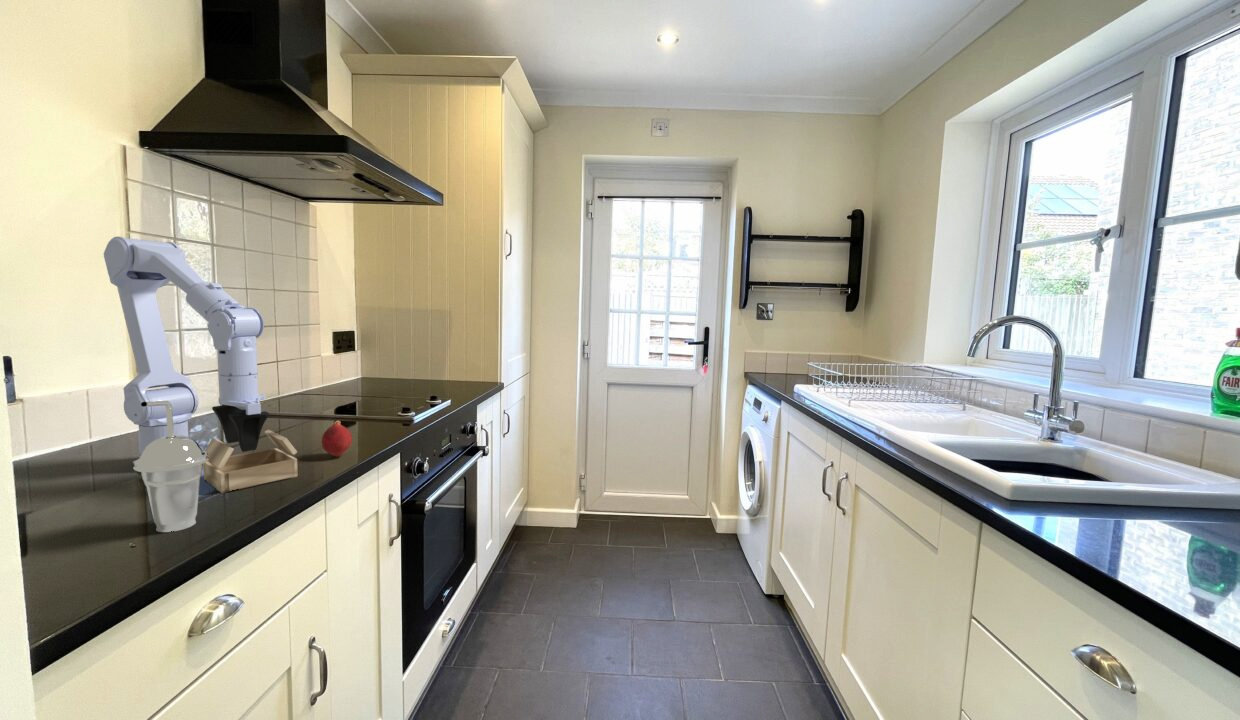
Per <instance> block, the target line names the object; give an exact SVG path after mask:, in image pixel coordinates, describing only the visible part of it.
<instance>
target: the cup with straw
mask: <svg viewBox="0 0 1240 720" xmlns="http://www.w3.org/2000/svg"><path fill="white" fill-rule="evenodd" d="M163 405H165V407H166V419H167V435H168V436H164V437H161V438H159V439H156V440H154V441H153V442H151V443H150V444H149V445H148V446H147V447H146V448H145V449H144V451H143V453H142V455H141V457H140V458H138V459H136V460H134V461H135V462H134V464H133V467H132V468H133V470H134V471H135V472H139V473H140V475H141V479H142V481H143V483H144V484H143V485H144V486H145V487H146V491H147V494H148V501H149V504H150V509H151V513H152V517H153V522H154V524H155V526H156V528H155V531H156V532H158V533H172V532H173V531H174V532H178V531H182V530H185V529H188V528H191V527H192V526H194V525H196V523H197V521H196V517H197V515H198V504H199V494H200V483H201V481H200V480H201V477H202V472H204V471H203V463H205V462H207V461H208V460H209V456H208V453H207V452H206V451H205V450H203V449H202V447H201V446H200V444H199V443H198V442H197V441H196V440H195V439H193V438H192V437H187V436H182V435H174V431H173V414H172V405H171V403H170V402H169V401H146V402H142V403H141V406H143V407H147V406H163ZM171 531H172V532H171Z"/></svg>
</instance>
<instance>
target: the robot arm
mask: <svg viewBox="0 0 1240 720" xmlns="http://www.w3.org/2000/svg"><path fill="white" fill-rule="evenodd" d="M103 258H104V263H105V267H106V270H107V274H108V276H109V277H108V278H109V281H110V284H112V285H114V286H116V287H117V293H118V295H119V299H120V304H121V308H122V313H123V316H124V320H125V324H126V329H127V333H128V336H129V341H130V345H131V348H132V354H133V357H134V361H135V365H136V370H137V373H138V374H137V376H135V377H133V379H132V380H130V381H129V382H128V383H127V384H126V385H125V386H124V387H123V388H122V389H123V394H124V395H123V397H124V398H123V399H124V401H123V410H124V411H123V412H124V414H125V415H126V418H127V419H128V420H129V421H131V422H132V423H133V424H134V425H138V431H137V440H138V441H137V443H138V453H139V454H138V455H139V458H138V459H140V457H141V455H142V453H143V451H144V449H145V448H146V447H147V446H148V445H149V444H150V443H151V442H153V441H154V440H156V439H159V438H161V437H164V436H168V435H167V419H166V407H165V405H163V406H147V407H143V406H141V403H142V402H146V401H169V402H170V403H171V405H172V414H173V431H174V435H182V436H187V437H189V422H188V420H191V419H192V416H193V415H194V414H195V412H197V410H198V407H199V396H198V393H197V392H196V390H195V389H194V387H193V386H192V384H191V379H190V377H188V376H187V375H184V374H182V373H180V372H178V371H176V370H175V368H174V366H173V361H172V357H171V353H170V349H169V348H170V347H169V344H168V340H167V336H166V331H165V327H164V324H163V319H162V316H161V311H160V308H159V304H158V303H159V302H158V299H157V295H156V293H157V291H158V290H159V289H160V288H163V287H165V286H167V285H168V284H169V283H170V282H171V283H172V284H173V285H175V286H176V287H177V288H178V289H180V290H181V291H182V292H184V293H185V294H186V295H185V301H186V303H187V304H188V305H189V306H190V307H191V308H192V309H193V310H194V311H196V313H197V314H199V316H201V317H202V319H204V320H205V321H206V322H207V324H206V325H207V326H206V327H207V330H208V332H209V335H210V336H211V339H212V343H213V347H214V349H215V350H216V351H217V366H218V367H217V368H218V370H217V371H218V387H219V389H218V391H219V392H218V393H219V397H218V404H219V405H217V406H212V407H211V409H212V411H213V412H214V414H215V415H216V417H217V418H218V420H219V423H220V425H221V428H222V430H223V434H224V438H225V440H226V442H227V444H233V443H238V445H239V448H240V450H241V452H243V453H244V452H245V453H247V452H252V451H257V447H258V444H259V440H260V435H261V432H262V429H263V426H264V424H265V423H266V420H267V419H268V418H269V416H270V415H269V412H268V411H266V410H265V411H262V408H261V406H262V405H261V402H260V401H263V400H267V395H265V394H259V380H258V379H259V377H258V346H257V338H259V337H261V336H262V334H263V332H264V330H265V329H264V328H265V321H264V318H263V316H262V314H261V313H260V312H259V311H258V309H257V308H255V307H249V306H248V307H246V306H245V305H241V304H240V303H239V302H238V301H237V300H236V299H234V298H233V297H232V296H231V295H230V294H229V293H227V292H226V291H225V290H224V289H223V286H222V285H221V284H220V283H218V282H217V283H216V282H211V281H205V280H204V279H203V278H202V277H201V276H200V275H199V274H198V272H196V270H195V269H194V268H193V267H191V265H190V264H189V263H188V262H187V261H186V252H185V250H183V249H182V248H181V247H180V246H179V245H178V244H177V243H175V242H171V241H166V242H164V241H157V240H155V241H154V240H146V239H145V240H144V239H137V238H129V237H128V238H127V237H124V236H113V237H112V238H111V239H110V240H109V241H108V242H107V244H106V247H105V249H104V251H103ZM160 387H161V388H160ZM162 387H163V388H162ZM147 389H148V390H147ZM189 438H190V437H189ZM135 461H136V460H133V461H132V464H133V465H134V462H135Z"/></svg>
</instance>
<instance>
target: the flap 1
mask: <svg viewBox="0 0 1240 720" xmlns="http://www.w3.org/2000/svg"><path fill="white" fill-rule="evenodd" d="M234 450H235V449H234V448H233V447H231V446H230V445H228V444H226V443H224V442H223V441H221V440H220V439H218V438H215V437H211V440H210V442H209V443H208V445H207V447H206V448H205V449H204V451H206V452H207V453H208V456H209V460H208V461H209V462H211V463H212V464H213V465H215V466H216V467H218V468H222V469H223V467H224V465H225V464H226V462H227V460H228V459H229V457H230V456H232V454H233V453H234Z"/></svg>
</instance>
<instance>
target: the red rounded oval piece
mask: <svg viewBox="0 0 1240 720" xmlns="http://www.w3.org/2000/svg"><path fill="white" fill-rule="evenodd" d="M341 423H342V422H341V420H336V421H335V422H334V423H333V424H332V425H331V426H329V427H328V428H327V429H326V430H325V431H324V432H323V434H322V437H321V447H322V448H323V450H324V451H325V452H326V453H328V454H329V455H331V456H333V457H336V458H339V457H341V456H342V455H343V454H344V453H346V452H347V451H348V450H349V449H350V448H351V446H352V443H353V435H352V433H351V431H350V430H349V429H348V428H347V427H345V426H344V425H342V424H341Z"/></svg>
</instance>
